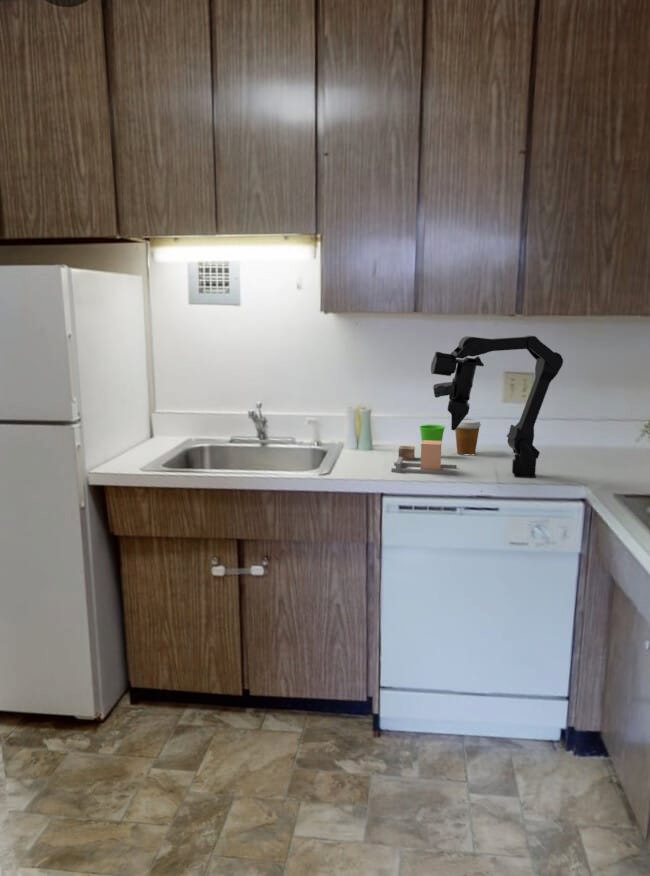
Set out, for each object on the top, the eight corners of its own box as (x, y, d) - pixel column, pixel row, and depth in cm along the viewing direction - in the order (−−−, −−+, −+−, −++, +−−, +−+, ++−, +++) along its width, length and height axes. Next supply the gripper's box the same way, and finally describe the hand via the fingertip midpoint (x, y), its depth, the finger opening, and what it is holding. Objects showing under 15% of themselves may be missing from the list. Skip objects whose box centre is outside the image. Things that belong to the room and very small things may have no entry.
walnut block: (414, 460, 231) (414, 446, 230) (413, 463, 226) (413, 449, 225) (399, 459, 232) (400, 445, 231) (398, 463, 227) (398, 448, 226)
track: (456, 470, 216) (456, 459, 215) (455, 478, 206) (456, 466, 206) (394, 467, 220) (394, 456, 219) (391, 475, 210) (391, 463, 210)
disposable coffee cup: (447, 453, 241) (448, 421, 239) (461, 449, 248) (462, 417, 246) (471, 457, 235) (472, 423, 232) (484, 453, 242) (485, 420, 240)
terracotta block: (440, 468, 215) (441, 440, 213) (439, 472, 209) (440, 444, 207) (421, 467, 216) (422, 440, 214) (420, 471, 210) (421, 443, 209)
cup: (448, 456, 237) (448, 425, 235) (438, 461, 229) (439, 429, 227) (424, 453, 241) (425, 423, 239) (414, 458, 234) (414, 427, 231)
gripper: (439, 365, 213) (429, 411, 219) (436, 380, 196) (426, 429, 202) (474, 372, 212) (463, 418, 217) (474, 387, 194) (462, 437, 200)
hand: (453, 425), depth 209 cm, fingers open, 9 cm apart
